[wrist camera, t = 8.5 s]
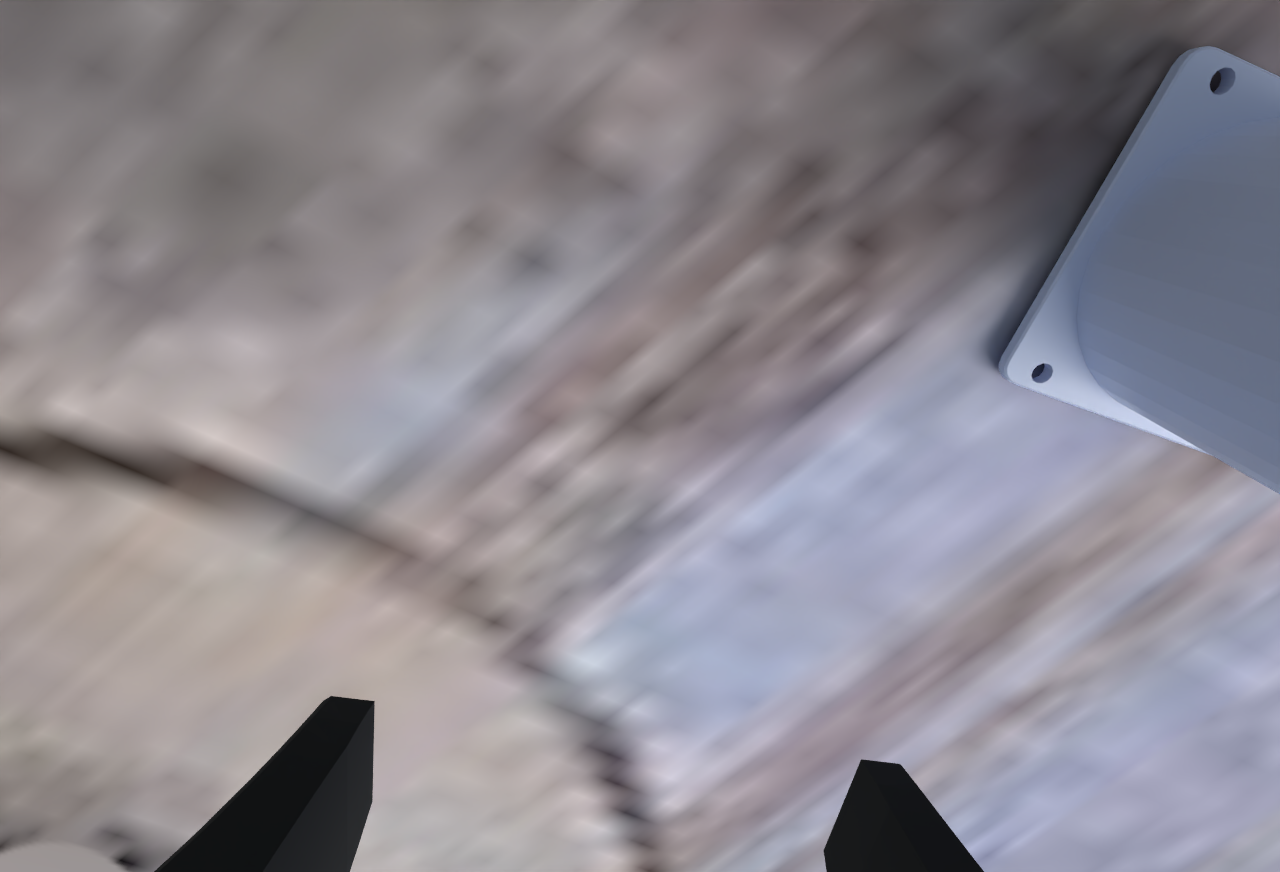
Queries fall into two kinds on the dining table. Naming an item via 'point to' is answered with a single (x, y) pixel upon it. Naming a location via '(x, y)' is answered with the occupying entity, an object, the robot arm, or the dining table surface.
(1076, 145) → the dining table surface
